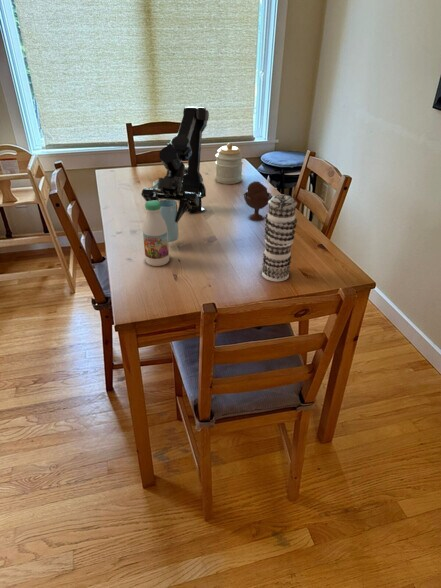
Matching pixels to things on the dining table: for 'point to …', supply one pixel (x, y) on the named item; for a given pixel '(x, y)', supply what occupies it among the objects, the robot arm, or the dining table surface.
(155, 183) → the salad plate
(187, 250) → the dining table surface
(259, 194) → the ice cream bowl
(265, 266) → the decorative candle
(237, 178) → the jar
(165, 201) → the tumbler
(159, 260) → the milk bottle
